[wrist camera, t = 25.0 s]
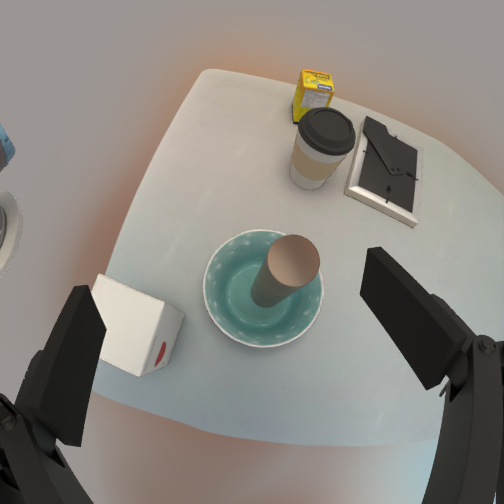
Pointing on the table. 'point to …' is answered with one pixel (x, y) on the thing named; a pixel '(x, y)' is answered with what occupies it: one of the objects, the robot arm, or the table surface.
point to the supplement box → (311, 92)
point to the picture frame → (387, 172)
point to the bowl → (239, 297)
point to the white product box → (135, 327)
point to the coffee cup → (320, 146)
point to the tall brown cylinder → (285, 270)
